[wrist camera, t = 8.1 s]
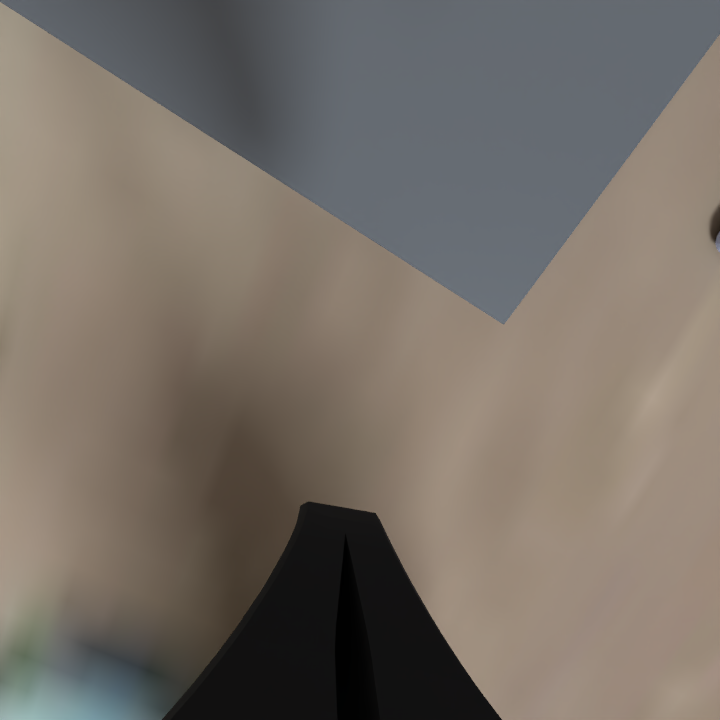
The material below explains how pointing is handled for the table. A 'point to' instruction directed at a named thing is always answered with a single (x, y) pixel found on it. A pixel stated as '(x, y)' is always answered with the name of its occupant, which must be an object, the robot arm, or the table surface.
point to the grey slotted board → (414, 108)
